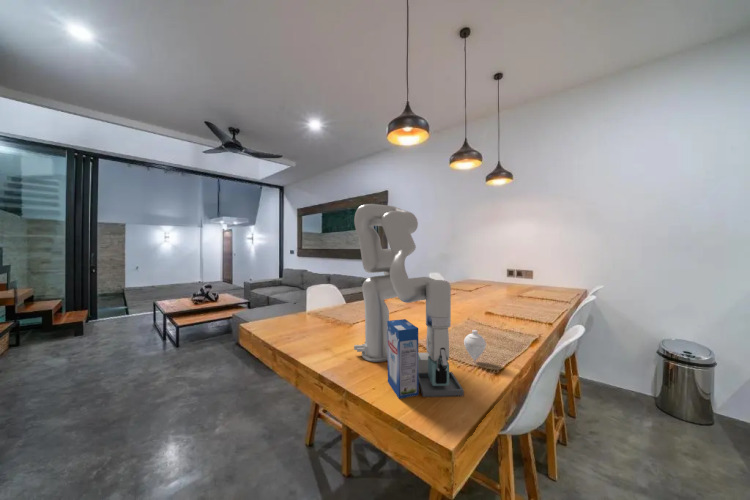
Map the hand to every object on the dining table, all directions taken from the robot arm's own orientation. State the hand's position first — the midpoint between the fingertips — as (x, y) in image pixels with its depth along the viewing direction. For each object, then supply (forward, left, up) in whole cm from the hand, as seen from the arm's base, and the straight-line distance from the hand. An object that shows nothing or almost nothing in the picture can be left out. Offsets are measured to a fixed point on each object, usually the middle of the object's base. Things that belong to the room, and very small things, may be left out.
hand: (438, 376), depth 84 cm
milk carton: (-11, -1, -3) cm, 12 cm away
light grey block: (-2, +12, -3) cm, 12 cm away
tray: (0, 0, -3) cm, 3 cm away
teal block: (0, 0, -1) cm, 1 cm away
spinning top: (+18, +16, -3) cm, 24 cm away
